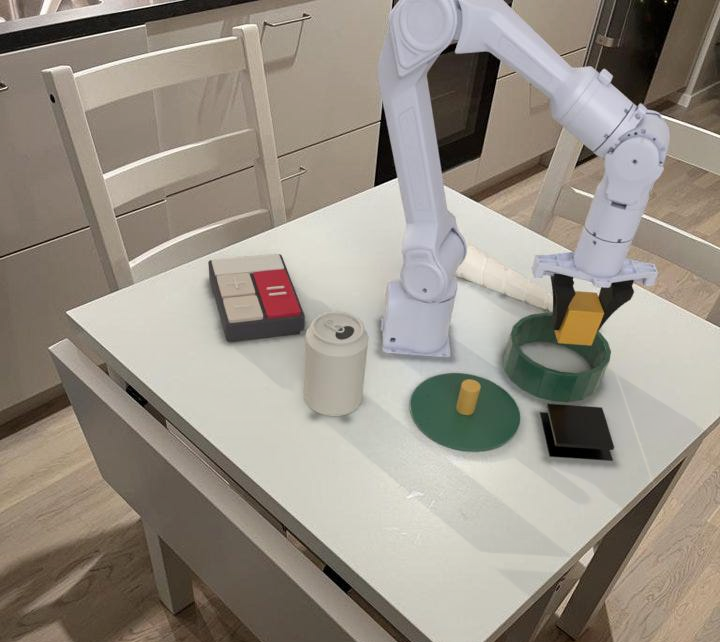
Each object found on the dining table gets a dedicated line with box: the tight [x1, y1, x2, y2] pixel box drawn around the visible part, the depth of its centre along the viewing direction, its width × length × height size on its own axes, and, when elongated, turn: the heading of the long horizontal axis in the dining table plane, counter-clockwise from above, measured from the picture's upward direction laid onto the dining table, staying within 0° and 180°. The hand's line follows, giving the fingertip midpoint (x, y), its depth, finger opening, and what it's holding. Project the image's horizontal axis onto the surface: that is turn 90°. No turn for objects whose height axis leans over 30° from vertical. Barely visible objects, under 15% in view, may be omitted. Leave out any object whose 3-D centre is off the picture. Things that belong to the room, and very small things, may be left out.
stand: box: [539, 403, 615, 462], centre depth 93 cm, size 8×8×2 cm
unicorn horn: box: [455, 244, 553, 313], centre depth 111 cm, size 5×24×5 cm, turn 54°
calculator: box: [207, 253, 306, 343], centre depth 105 cm, size 11×4×15 cm
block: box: [555, 290, 604, 345], centre depth 93 cm, size 4×4×5 cm
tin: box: [502, 312, 612, 403], centre depth 100 cm, size 13×13×5 cm
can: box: [303, 310, 369, 417], centre depth 90 cm, size 8×8×12 cm
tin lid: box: [409, 372, 521, 453], centre depth 93 cm, size 14×14×5 cm
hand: (573, 326), depth 94 cm, fingers closed on block, 4 cm apart
